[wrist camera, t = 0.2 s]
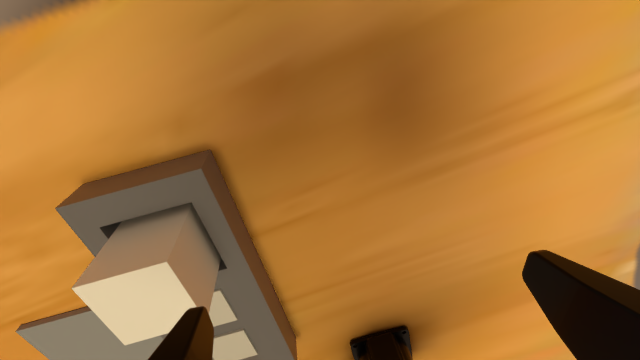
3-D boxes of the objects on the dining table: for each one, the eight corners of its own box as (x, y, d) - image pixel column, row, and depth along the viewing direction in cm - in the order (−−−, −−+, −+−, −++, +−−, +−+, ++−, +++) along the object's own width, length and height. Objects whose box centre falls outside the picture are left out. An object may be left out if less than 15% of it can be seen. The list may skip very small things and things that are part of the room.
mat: (200, 361, 31) (199, 367, 30) (97, 389, 31) (94, 396, 30) (146, 290, 26) (143, 296, 25) (20, 325, 25) (15, 331, 25)
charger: (223, 245, 24) (207, 322, 18) (161, 262, 24) (123, 345, 18) (197, 193, 21) (166, 261, 15) (127, 212, 21) (69, 288, 15)
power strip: (295, 333, 32) (298, 375, 28) (213, 356, 32) (205, 401, 28) (211, 146, 21) (198, 174, 17) (86, 180, 21) (46, 216, 17)
